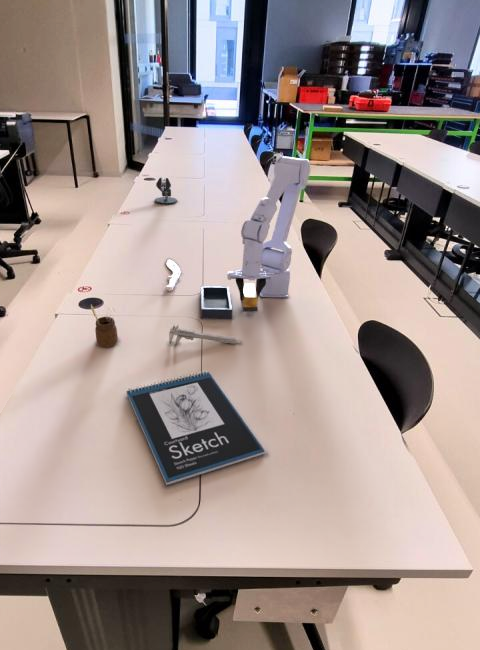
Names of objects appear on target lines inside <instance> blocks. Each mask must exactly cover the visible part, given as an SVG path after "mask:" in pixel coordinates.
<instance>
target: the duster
mask: <svg viewBox="0 0 480 650" xmlns="http://www.w3.org/2000/svg"><path fill="white" fill-rule="evenodd" d="M258 300H259V297H258V296H257V292H256V283H247V282H246V283H245V282H244V289H243V301H241V300H240V304H241V309H242V312H252V313H253V312H255V313H256V312H258V309H259V308H258V302H259V301H258Z"/></svg>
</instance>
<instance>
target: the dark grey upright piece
mask: <svg viewBox="0 0 480 650" xmlns="http://www.w3.org/2000/svg"><path fill="white" fill-rule="evenodd" d="M155 187H156V188H157V189H158V190H159V191H160V193H161V197H157V198H156V197H155V198H154V203H156V204H158V205H165V206H168V205H175V204H176V203H178V199H177V198H175V197H171V196H172V189H171V187H172V183H171V181H170V179H169V178H168V177H165V178H164V179H163V178H162V176H161V177H159V178H158V180H157V181H156V184H155Z"/></svg>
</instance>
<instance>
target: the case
mask: <svg viewBox="0 0 480 650" xmlns="http://www.w3.org/2000/svg"><path fill="white" fill-rule="evenodd" d="M200 315H201V316H200V317H201V319H214V320H215V319H216V320H217V319H219V320H220V319H222V320H223V319H224V320H232V318H233V306H232V299H231V292H230V287H229V286H214V285H213V286H212V285H211V286H208V285H206V286H205V285H204V286H203V285H201V286H200Z"/></svg>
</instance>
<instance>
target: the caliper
mask: <svg viewBox="0 0 480 650" xmlns="http://www.w3.org/2000/svg"><path fill="white" fill-rule="evenodd" d="M179 326H180V325H179V324H177V325H175V324H173V326H171V327H170V329H169V333H168V334H169V335H168V340H169V341H168V342H169V344H170V345H171V344H172V343H173V339H174V336H176V338H175V345H178V344H179V342H180V341H181V339H182V338H184V339H185V340H190V341H194V339H199V340H205V341H213V342H219V343H226V344H231V345H236V344H241V341H240V340H239V339H237V338H236V337H230V336H224V335H219V334H218V335H217V334H212V333H205V332H198V331H196V330H194V329H187V328H181V327H179Z"/></svg>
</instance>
